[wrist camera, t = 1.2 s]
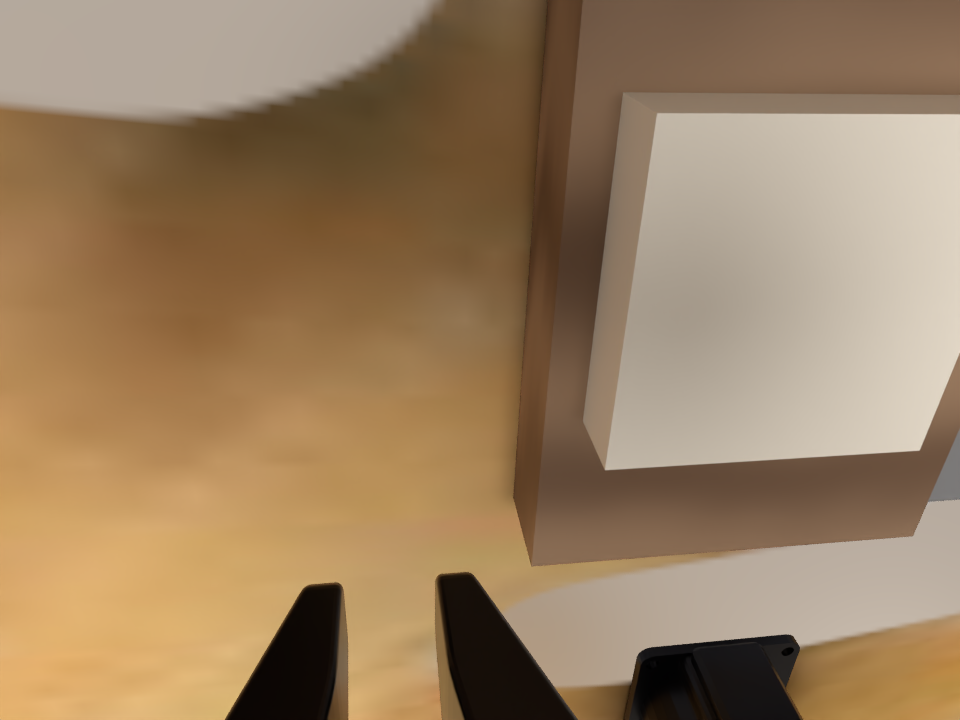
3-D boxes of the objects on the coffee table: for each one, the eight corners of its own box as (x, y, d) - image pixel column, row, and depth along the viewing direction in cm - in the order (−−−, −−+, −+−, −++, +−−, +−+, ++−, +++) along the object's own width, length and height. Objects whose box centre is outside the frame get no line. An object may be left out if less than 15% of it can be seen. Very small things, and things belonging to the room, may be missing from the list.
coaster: (871, 406, 20) (919, 450, 18) (582, 421, 19) (605, 470, 17) (981, 95, 16) (1057, 114, 14) (623, 92, 15) (657, 113, 13)
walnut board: (857, 474, 25) (913, 536, 23) (513, 497, 24) (531, 566, 21) (1090, -167, 16) (1226, -185, 14) (561, -198, 15) (603, -227, 12)
